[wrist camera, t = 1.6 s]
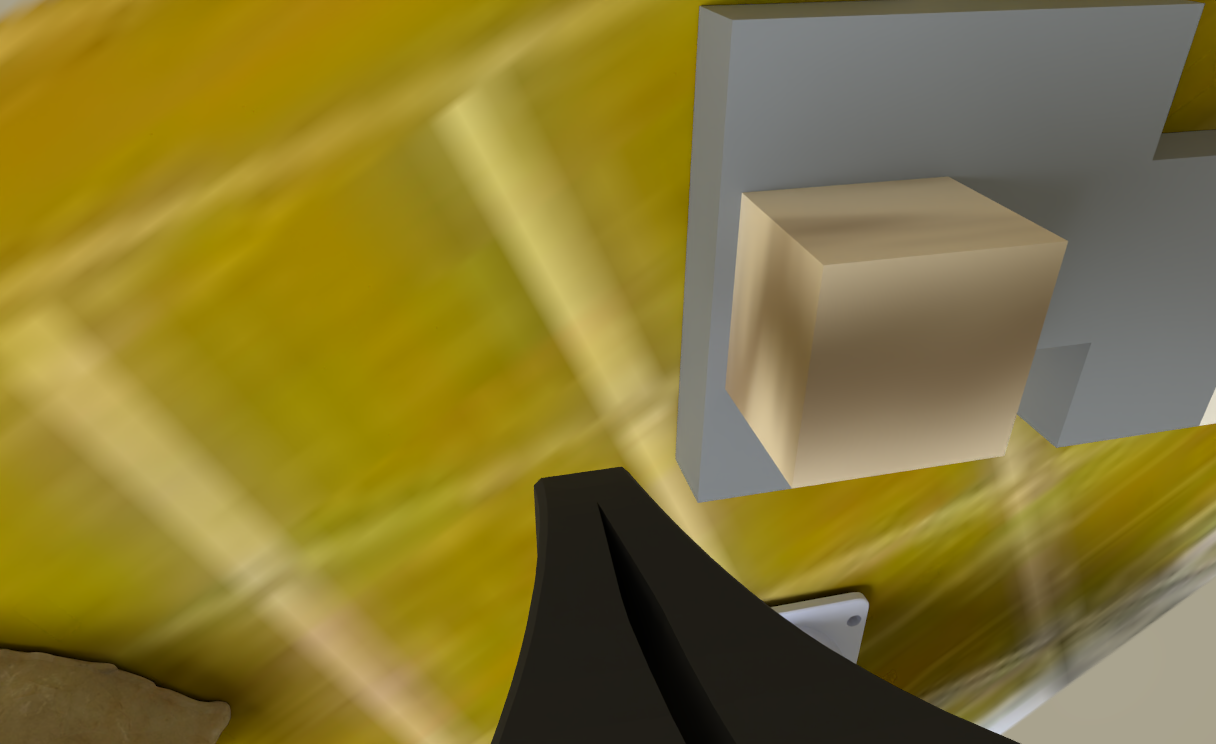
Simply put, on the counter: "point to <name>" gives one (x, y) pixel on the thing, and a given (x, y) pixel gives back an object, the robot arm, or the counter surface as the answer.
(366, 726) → the counter surface
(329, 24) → the counter surface
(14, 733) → the rock
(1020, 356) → the maple block
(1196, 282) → the plate
